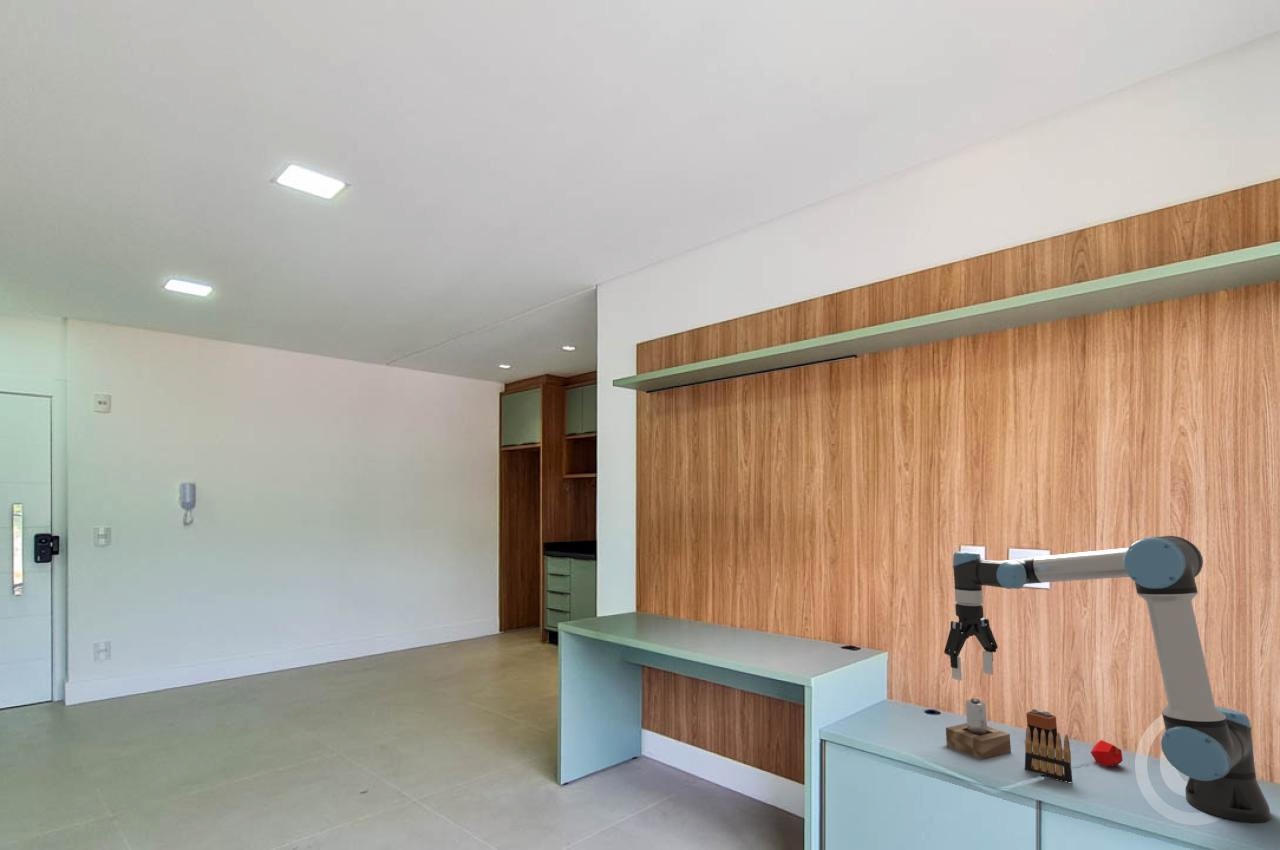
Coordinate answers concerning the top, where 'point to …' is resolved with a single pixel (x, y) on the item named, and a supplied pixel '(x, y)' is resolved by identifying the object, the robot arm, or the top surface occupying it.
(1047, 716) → the battery
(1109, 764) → the apple
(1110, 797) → the top surface
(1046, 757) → the ammunition clip
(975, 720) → the silver metal cylinder
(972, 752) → the box
